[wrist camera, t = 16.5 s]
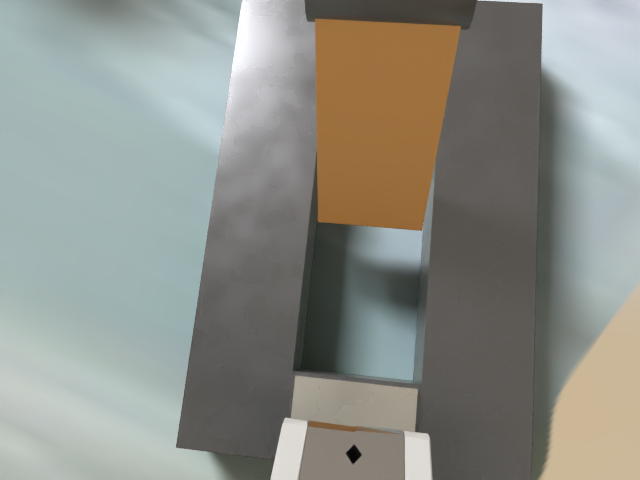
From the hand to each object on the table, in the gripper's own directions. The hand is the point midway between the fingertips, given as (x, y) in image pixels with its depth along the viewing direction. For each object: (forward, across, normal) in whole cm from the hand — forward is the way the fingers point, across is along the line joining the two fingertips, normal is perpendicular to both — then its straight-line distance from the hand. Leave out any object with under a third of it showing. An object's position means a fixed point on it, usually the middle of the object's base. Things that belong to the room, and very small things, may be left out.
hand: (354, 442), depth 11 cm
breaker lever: (+16, 0, +4) cm, 17 cm away
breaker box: (+19, 0, +7) cm, 20 cm away
